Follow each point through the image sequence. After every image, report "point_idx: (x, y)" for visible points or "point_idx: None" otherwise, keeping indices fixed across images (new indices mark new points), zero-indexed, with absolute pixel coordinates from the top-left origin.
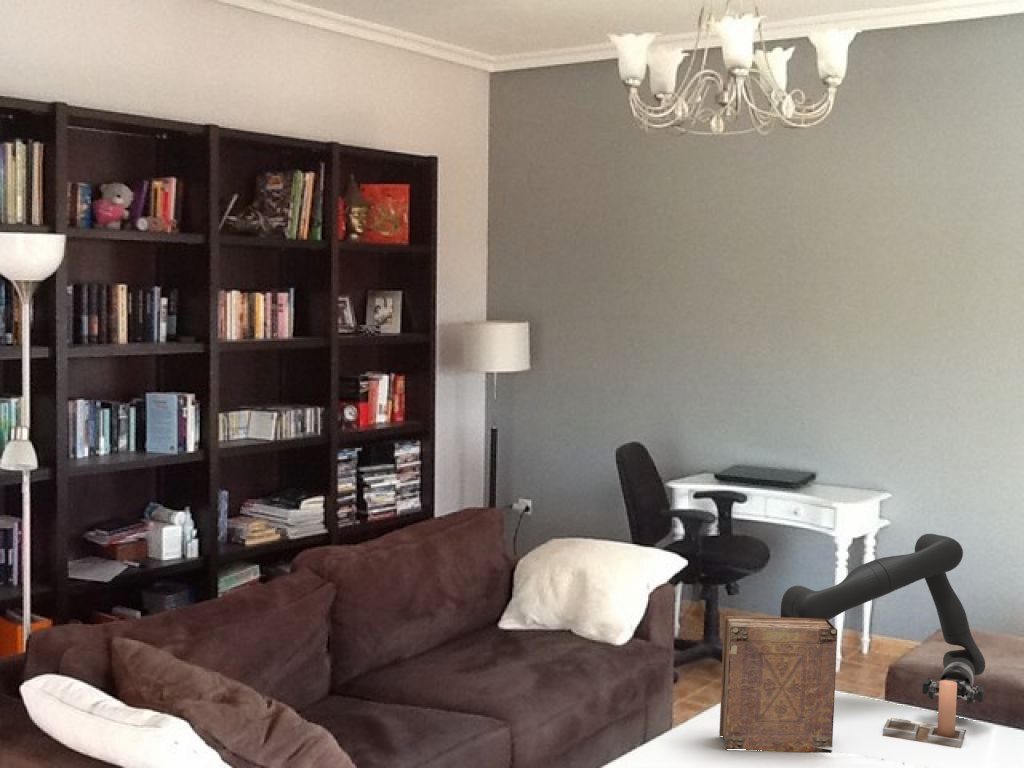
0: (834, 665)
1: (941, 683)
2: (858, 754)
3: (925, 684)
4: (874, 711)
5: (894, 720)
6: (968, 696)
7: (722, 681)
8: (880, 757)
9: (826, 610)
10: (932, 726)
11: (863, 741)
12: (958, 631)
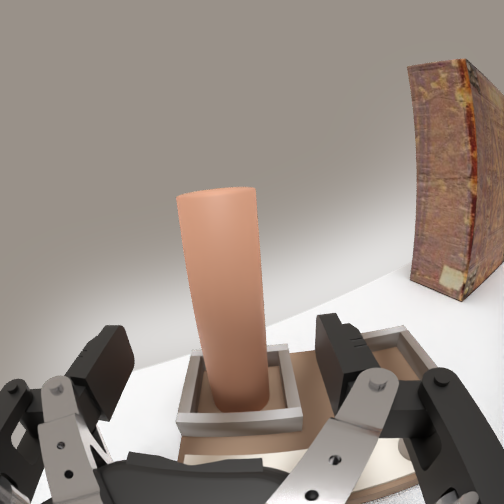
0: (415, 127)
1: (244, 187)
2: (381, 292)
3: (428, 371)
4: None
5: None
6: (115, 325)
7: None
8: (348, 299)
9: None
10: (297, 409)
11: (419, 330)
12: None
